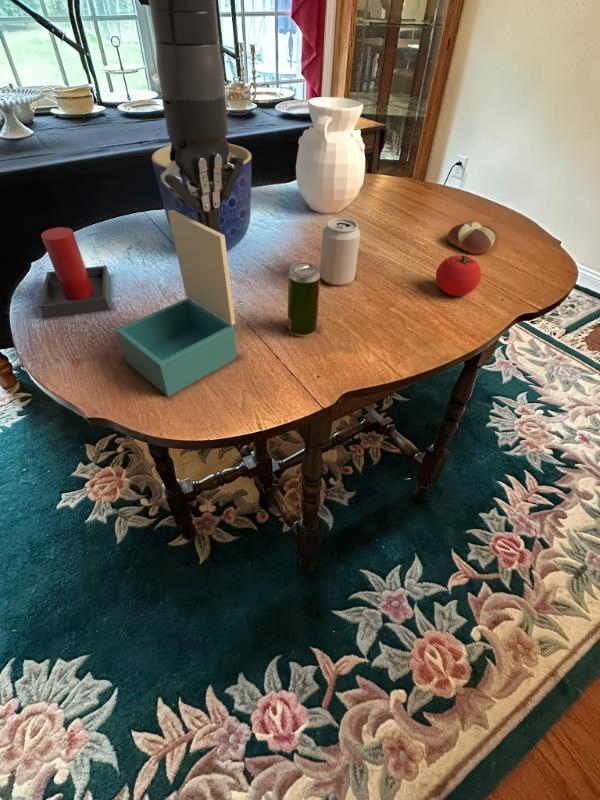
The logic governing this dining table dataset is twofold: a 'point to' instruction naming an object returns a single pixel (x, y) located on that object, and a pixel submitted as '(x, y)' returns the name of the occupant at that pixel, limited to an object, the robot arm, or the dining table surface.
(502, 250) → the dining table surface
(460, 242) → the bread
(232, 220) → the planter
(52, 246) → the plain red cylinder
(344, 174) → the white vase
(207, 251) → the lid
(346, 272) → the can
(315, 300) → the beer can
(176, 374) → the teal open box
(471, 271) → the tomato
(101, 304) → the tray
